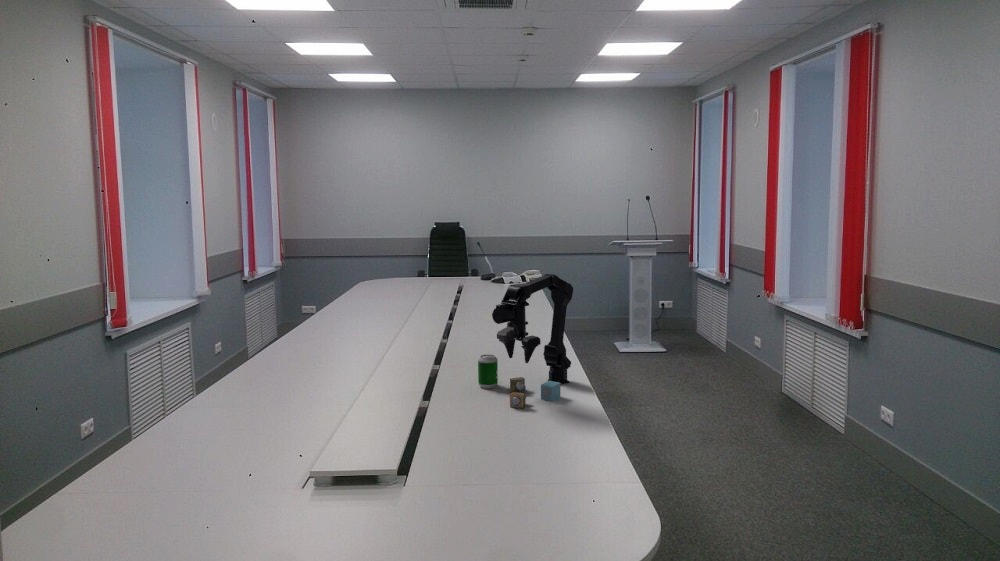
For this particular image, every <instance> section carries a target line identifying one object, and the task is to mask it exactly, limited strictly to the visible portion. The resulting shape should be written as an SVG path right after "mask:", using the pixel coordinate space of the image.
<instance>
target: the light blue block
mask: <svg viewBox="0 0 1000 561" xmlns="http://www.w3.org/2000/svg"><path fill="white" fill-rule="evenodd" d="M560 398H561V384H560V383H559V382H553V381H548V380H547V381H546V382H544V383H542V384H540V400H541V401H542V400H543V401H548V402H554V401H556V400H558V399H560Z"/></svg>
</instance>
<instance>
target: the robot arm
mask: <svg viewBox="0 0 1000 561" xmlns="http://www.w3.org/2000/svg"><path fill="white" fill-rule="evenodd" d="M546 288H547V289H548V290H549V291H550V298H551V301H552V303H553V312H552V313H553V314H552V323H551V330H550V331H551V332H550V340H549V342H548V343H547V344H545V345H544V347H543V354H542V355H543V359H544V361H545V364H546V366H548V367H549V370H548V379H547V382H548V381H553V382H559V383H560V385H561V384H566V383H570V380H568V370H569V368H571V365H572V361H571V360H570V359H569V358H568V357H567V348H566V345H565V344H564V336H565V327H566V317H567V308H568V307H567V306H568V305H569V304H570V302H571V300H572V299H573V294H574V286H572V284H571V283H568V282H567V281H565V280H563V279H561V278H560V277H559V276H558V275H556V274H553V273H546V274H543V275H542V276H539V277H537V278H534V279H532V280H530V281H526V282H524V283H514V284H510V285H508V286H507V289H506V291H505V294H504V295H503V297H502V300H501V303H500V304H496V305H495V308H494V309H493V311H492V314H491V315H492V316H491V317H492V320H493V322H494V323H495V324H497V325H500V324H504V323H506V327H504V328H502V329H501V330H498V331H497V332H496V339H497V340H498V341H499V342H500V343H502V344H503V345H504V347H505V350H506V352H507V355H508V358H509V359H512V358H513V357H514V351H515V346H516V345H515V344H516V341H519V342H521V348H522V349H523V353H524V362H525V364H529V362H530V360H531V358H532V355H533V353H534V352H535V350H536V348H537V347H539V346H540V345H541V343H542V342H541V338H540V337H539V336H537V335H529V332H527V325H529V321H527V319H526V307H528V306H530V303H529V302H528V301H527V300H529V299H530V298H531V296H532V295H533V294H534V293H537V292H539V291H541V290H545V289H546Z"/></svg>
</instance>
